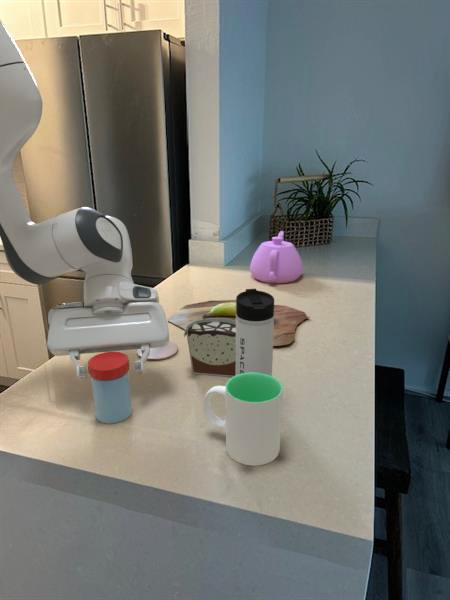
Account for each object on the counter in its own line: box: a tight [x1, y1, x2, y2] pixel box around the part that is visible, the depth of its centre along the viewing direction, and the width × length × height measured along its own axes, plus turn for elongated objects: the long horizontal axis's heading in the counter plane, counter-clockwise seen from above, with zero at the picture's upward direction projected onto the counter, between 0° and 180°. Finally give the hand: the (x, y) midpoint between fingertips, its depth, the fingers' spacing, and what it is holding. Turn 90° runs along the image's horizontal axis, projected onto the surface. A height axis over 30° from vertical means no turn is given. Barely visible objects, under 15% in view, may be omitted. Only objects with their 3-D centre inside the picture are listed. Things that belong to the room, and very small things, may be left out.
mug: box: [203, 372, 283, 467], centre depth 64 cm, size 12×8×10 cm, turn 67°
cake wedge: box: [183, 318, 236, 378], centre depth 86 cm, size 12×6×10 cm, turn 80°
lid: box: [87, 351, 130, 380], centre depth 70 cm, size 6×6×2 cm
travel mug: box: [235, 288, 275, 377], centre depth 73 cm, size 6×7×20 cm
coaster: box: [136, 341, 179, 362], centre depth 95 cm, size 9×9×1 cm
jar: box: [90, 371, 133, 425], centre depth 71 cm, size 6×6×10 cm
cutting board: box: [167, 299, 311, 347], centre depth 110 cm, size 35×27×4 cm
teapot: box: [249, 230, 304, 284], centre depth 145 cm, size 25×18×14 cm
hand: (111, 375), depth 72 cm, fingers open, 8 cm apart
